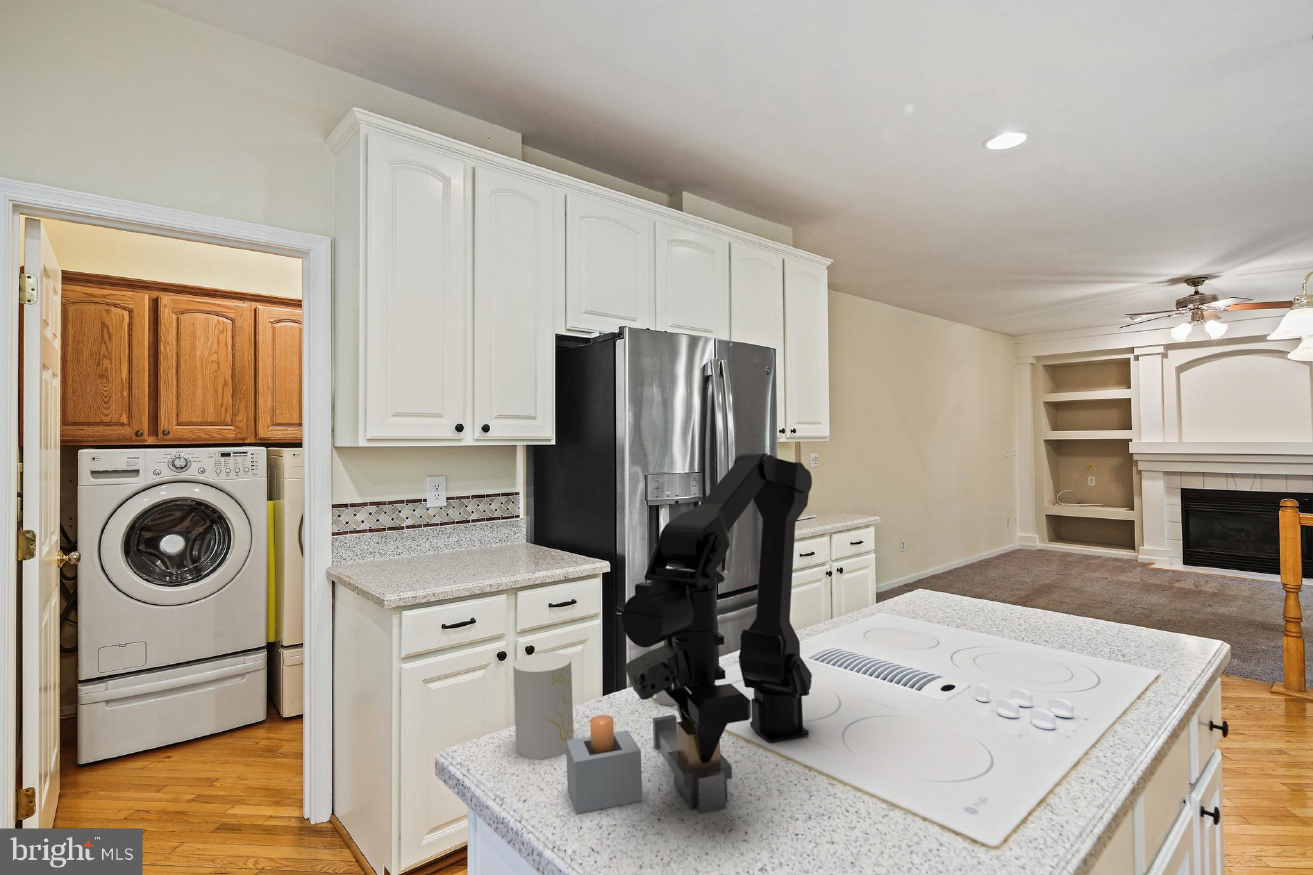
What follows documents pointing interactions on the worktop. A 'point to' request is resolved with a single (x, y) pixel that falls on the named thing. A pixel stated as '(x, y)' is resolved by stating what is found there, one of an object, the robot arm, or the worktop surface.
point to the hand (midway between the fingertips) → (698, 753)
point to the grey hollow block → (603, 773)
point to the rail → (707, 784)
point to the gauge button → (602, 734)
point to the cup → (543, 705)
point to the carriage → (693, 762)
